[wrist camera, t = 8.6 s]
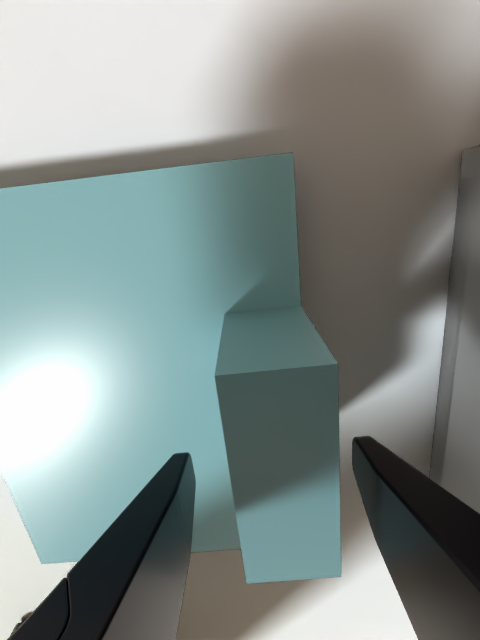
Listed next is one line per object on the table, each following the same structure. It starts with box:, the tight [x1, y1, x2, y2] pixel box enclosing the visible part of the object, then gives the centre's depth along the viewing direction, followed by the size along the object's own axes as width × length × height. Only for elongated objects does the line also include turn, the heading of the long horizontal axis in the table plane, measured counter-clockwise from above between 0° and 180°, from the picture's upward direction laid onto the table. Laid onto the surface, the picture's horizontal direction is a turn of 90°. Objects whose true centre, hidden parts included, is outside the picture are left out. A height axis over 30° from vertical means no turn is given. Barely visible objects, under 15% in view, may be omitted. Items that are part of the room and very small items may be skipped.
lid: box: [0, 152, 341, 584], centre depth 10 cm, size 15×12×6 cm
